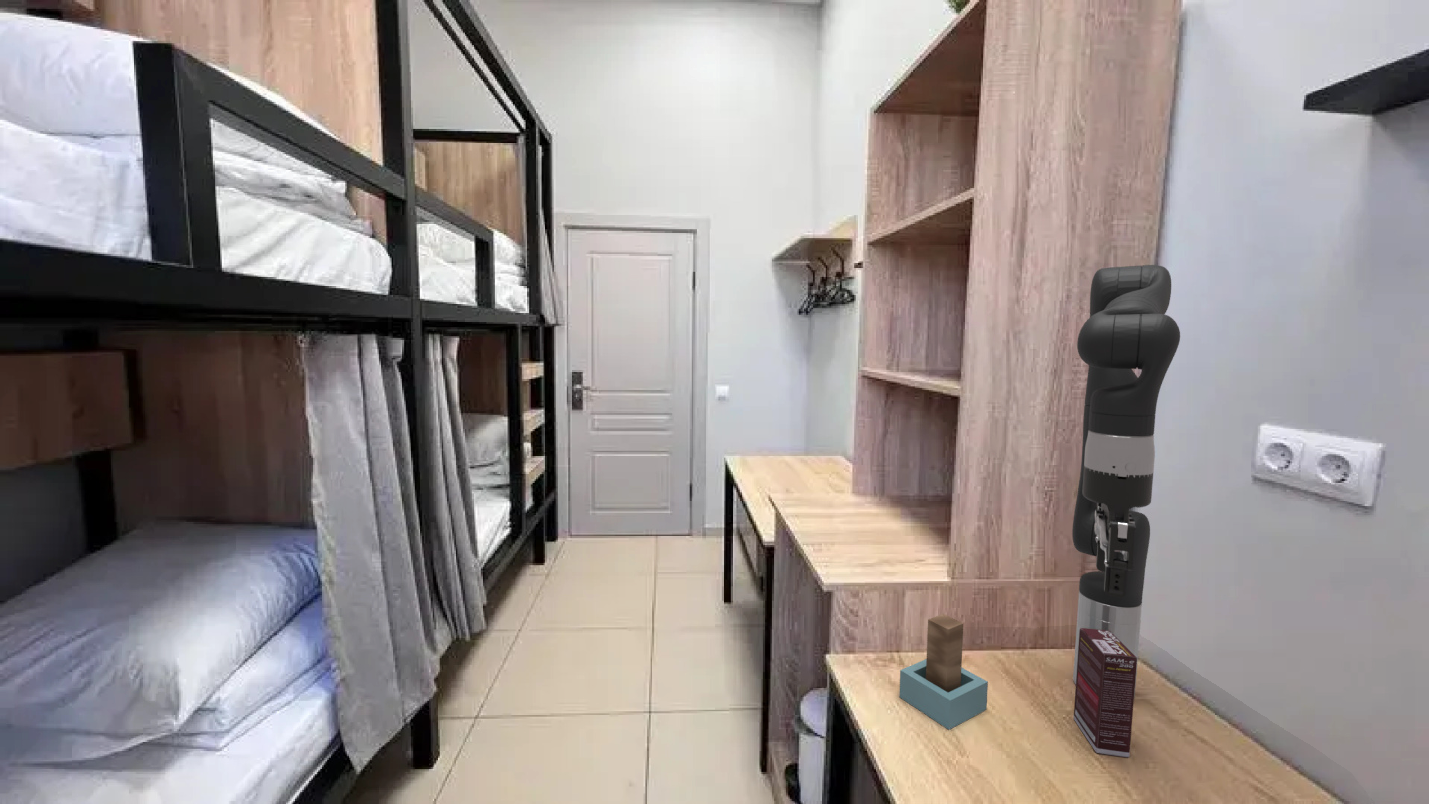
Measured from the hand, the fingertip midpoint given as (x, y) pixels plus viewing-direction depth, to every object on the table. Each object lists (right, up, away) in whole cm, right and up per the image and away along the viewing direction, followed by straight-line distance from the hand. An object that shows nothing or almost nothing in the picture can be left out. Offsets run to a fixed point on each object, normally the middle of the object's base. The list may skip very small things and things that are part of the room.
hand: (1109, 582), depth 76 cm
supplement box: (+7, -29, +12) cm, 32 cm away
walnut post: (-14, -27, +21) cm, 37 cm away
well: (-14, -28, +21) cm, 37 cm away
